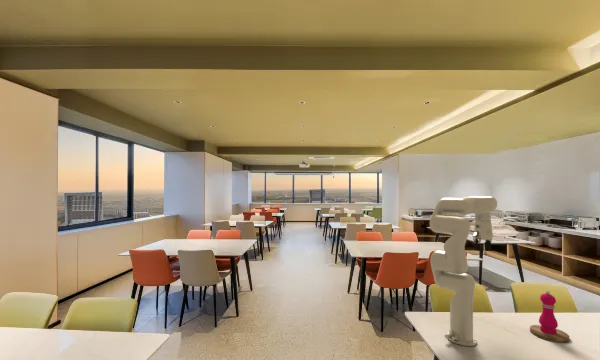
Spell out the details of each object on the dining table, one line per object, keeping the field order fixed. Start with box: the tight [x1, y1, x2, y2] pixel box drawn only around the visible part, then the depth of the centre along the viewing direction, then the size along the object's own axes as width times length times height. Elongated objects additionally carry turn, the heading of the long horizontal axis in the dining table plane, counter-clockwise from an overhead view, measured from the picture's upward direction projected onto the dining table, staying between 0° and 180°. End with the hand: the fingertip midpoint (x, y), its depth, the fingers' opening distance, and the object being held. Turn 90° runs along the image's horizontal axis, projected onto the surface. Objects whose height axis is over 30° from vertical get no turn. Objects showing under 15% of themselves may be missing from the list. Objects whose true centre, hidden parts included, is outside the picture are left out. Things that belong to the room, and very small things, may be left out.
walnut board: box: [529, 324, 570, 344], centre depth 147 cm, size 15×15×2 cm
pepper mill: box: [538, 290, 559, 335], centre depth 147 cm, size 7×7×20 cm
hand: (482, 249), depth 165 cm, fingers open, 9 cm apart
